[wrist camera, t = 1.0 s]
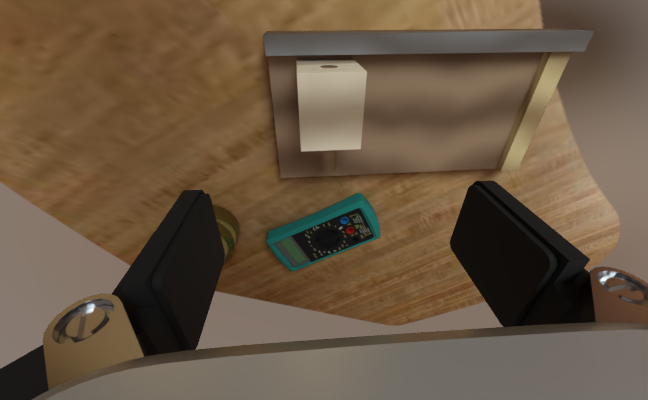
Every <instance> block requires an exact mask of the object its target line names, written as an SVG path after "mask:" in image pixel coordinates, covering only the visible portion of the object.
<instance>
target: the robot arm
mask: <svg viewBox="0 0 648 400" xmlns="http://www.w3.org/2000/svg"><path fill="white" fill-rule="evenodd" d="M450 246H451V249H452V251H453V252H454V254H455V255H456V257H457V258H458V260H459V261H460V263H461V264H462V266H463V267H464V269H465V270H466V272H467V273H468V275H469V276H470V278H471V279H472V281H473V282H474V284H475V286H476V287H477V289H478V290H479V292H480V293H481V295H482V296H483V298H484V299H485V301H486V302H487V303H488V305H489V306H490V308H491V310H492V311H493V313H494V314H495V316H496V317H497V319H498V320H499V322H500V323H501V324H502V326H503V327H498V328H484V329H466V330H452V331H436V332H421V333H406V334H393V335H378V336H364V337H349V338H335V339H322V340H308V341H294V342H281V343H269V344H268V343H267V344H255V345H242V346H232V347H220V348H210V349H199V350H195V349H196V347H197V345H198V342H199V339H200V336H201V333H202V329H203V326H204V323H205V320H206V317H207V314H208V310H209V307H210V304H211V301H212V298H213V294H214V292H215V288H216V285H217V282H218V279H219V276H220V273H221V269H222V266H223V263H224V259H225V251H224V247H223V243H222V239H221V236H220V232H219V228H218V224H217V220H216V217H215V213H214V209H213V205H212V201H211V198H210V195H209V194H205V193H204V192H203V190H185V191H183V192H182V193H181V195H180V196H179V198H178V199H177V201H176V202H175V204H174V205H173V207H172V208H171V209H170V211H169V212H168V214H167V215H166V217H165V218H164V220H163V221H162V223H161V224H160V225H159V227H158V228H157V230H156V231H155V232H154V233H153V235H152V236H151V238H150V239H149V241H148V242H147V244H146V245H145V246H144V248H143V249H142V251H141V252H140V254H139V255H138V257H137V258H136V260H135V261H134V262H133V264H132V265H131V267H130V268H129V270H128V271H127V273H126V274H125V276H124V277H123V278H122V280H121V281H120V283H119V284H118V286H117V287H116V288H115V290H114V292H113V293H112V294H98V295H93V296H89V297H87V298H84V299H82V300H79V301H78V302H76V303H74V304H72V305H70V306H69V307H67V308H66V309H65V310H63V311H62V312H61V313H60V314H58V315H57V316H56V317H55V318H54V320H53V321H52V322H51V323H50V324H49V325H48V327H47V329H46V331H45V332H44V337H43V345H42V346H40V347H38V348H36V349H35V350H33V351H31V352H29V353H28V354H26V355H24V356H23V357H21V358H19V359H17V360H16V361H14V362H12V363H10V364H8V365H7V366H5V367H3V368H1V369H0V400H648V283H647V282H645V281H644V280H642V279H640V278H638V277H636V276H634V275H632V274H630V273H627V272H625V271H622V270H619V269H616V268H612V267H604V266H601V267H596V268H594V269H592V270H591V271H590V272H588V271H586V270H585V269H584V267H585V266H586V264H587V263H588V262H589V260H590V259H589V258H588V257H586V256H585V255H584V254H583V253H582V252H580V251H579V250H578V249H577V248H575V247H574V246H573V245H572V244H571V243H569V242H568V241H567V240H566V239H564V238H563V237H562V236H561V235H560V234H558V233H557V232H556V231H555V230H554V229H552V228H551V227H550V226H549V225H547V224H546V223H545V222H544V221H543V220H541V219H540V218H539V217H538V216H536V215H535V214H534V213H533V212H532V211H530V210H529V209H528V208H527V207H525V206H524V205H523V204H522V203H521V202H519V201H518V200H517V199H516V198H514V197H513V196H512V195H511V194H510V193H508V192H507V191H506V190H505V189H504V188H502V187H501V186H500V185H499V184H497V183H496V182H495V181H476V182H475V183H474V184H473V185H471V186H470V187H469V188H468V191H467V194H466V196H465V199H464V202H463V205H462V208H461V211H460V214H459V217H458V220H457V223H456V225H455V228H454V231H453V234H452V237H451V240H450Z"/></svg>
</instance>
